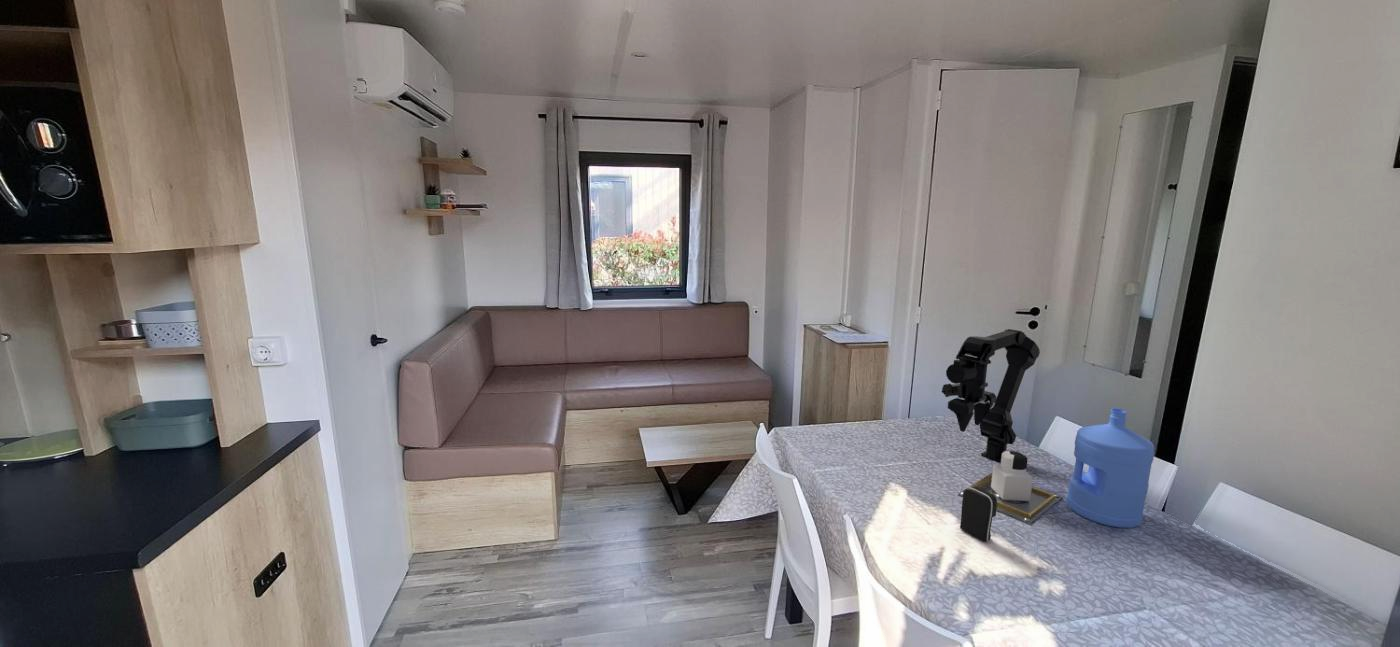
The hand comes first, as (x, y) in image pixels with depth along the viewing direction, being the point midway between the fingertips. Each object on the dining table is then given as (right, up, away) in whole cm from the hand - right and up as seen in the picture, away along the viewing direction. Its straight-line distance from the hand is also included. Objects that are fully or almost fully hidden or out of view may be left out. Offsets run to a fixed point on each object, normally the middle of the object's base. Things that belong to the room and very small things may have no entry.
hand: (969, 427), depth 155 cm
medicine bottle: (+3, -16, -15) cm, 22 cm away
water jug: (+23, -18, -23) cm, 37 cm away
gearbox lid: (+3, -16, -15) cm, 22 cm away
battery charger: (-16, -19, -33) cm, 41 cm away
